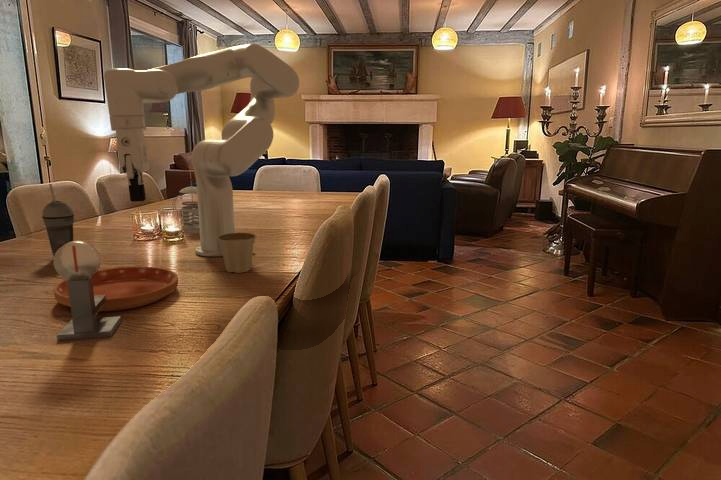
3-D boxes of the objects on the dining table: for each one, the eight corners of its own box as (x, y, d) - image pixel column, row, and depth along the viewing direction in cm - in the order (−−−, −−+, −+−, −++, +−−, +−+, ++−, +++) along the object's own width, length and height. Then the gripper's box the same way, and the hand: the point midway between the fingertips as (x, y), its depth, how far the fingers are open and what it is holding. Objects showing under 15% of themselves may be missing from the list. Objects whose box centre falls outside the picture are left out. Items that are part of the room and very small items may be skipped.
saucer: (142, 274, 115) (140, 260, 114) (200, 293, 102) (199, 277, 101) (35, 300, 97) (33, 283, 96) (90, 327, 84) (88, 307, 83)
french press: (203, 233, 161) (198, 158, 156) (169, 232, 162) (163, 158, 156) (212, 227, 171) (208, 157, 166) (180, 227, 171) (175, 157, 166)
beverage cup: (64, 262, 123) (54, 185, 119) (41, 261, 125) (30, 185, 120) (85, 255, 130) (77, 183, 126) (63, 254, 132) (53, 182, 127)
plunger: (104, 304, 88) (104, 298, 88) (94, 316, 82) (94, 310, 82) (97, 305, 88) (97, 298, 87) (87, 317, 82) (86, 310, 82)
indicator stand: (123, 318, 87) (114, 232, 84) (110, 336, 79) (100, 242, 76) (75, 321, 85) (63, 233, 82) (57, 340, 78) (44, 244, 74)
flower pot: (238, 277, 112) (236, 242, 110) (210, 271, 117) (208, 237, 115) (265, 268, 120) (264, 235, 118) (239, 263, 125) (237, 230, 123)
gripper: (138, 124, 106) (149, 205, 111) (151, 123, 120) (159, 195, 125) (102, 124, 104) (114, 206, 109) (118, 124, 118) (128, 197, 123)
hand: (138, 200), depth 117 cm, fingers closed
